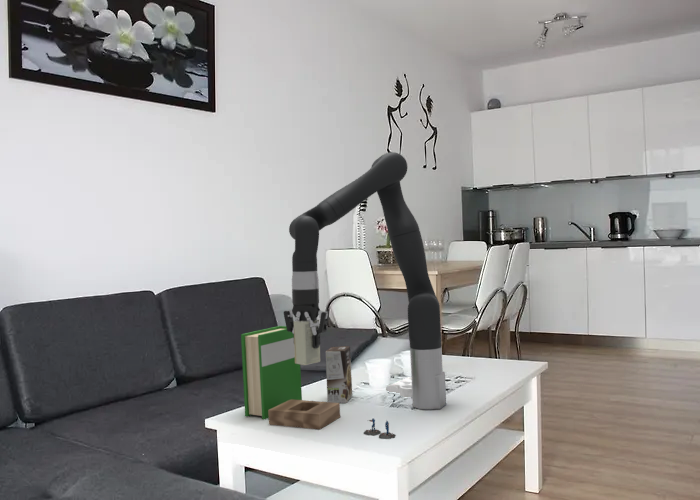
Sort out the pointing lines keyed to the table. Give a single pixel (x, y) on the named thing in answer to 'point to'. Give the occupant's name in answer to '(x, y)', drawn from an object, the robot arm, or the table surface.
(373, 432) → the figurines
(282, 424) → the walnut holder block
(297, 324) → the skincare box
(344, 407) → the table surface
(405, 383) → the white brass knuckles
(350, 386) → the coffee box
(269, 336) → the hardback book
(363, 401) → the table surface
